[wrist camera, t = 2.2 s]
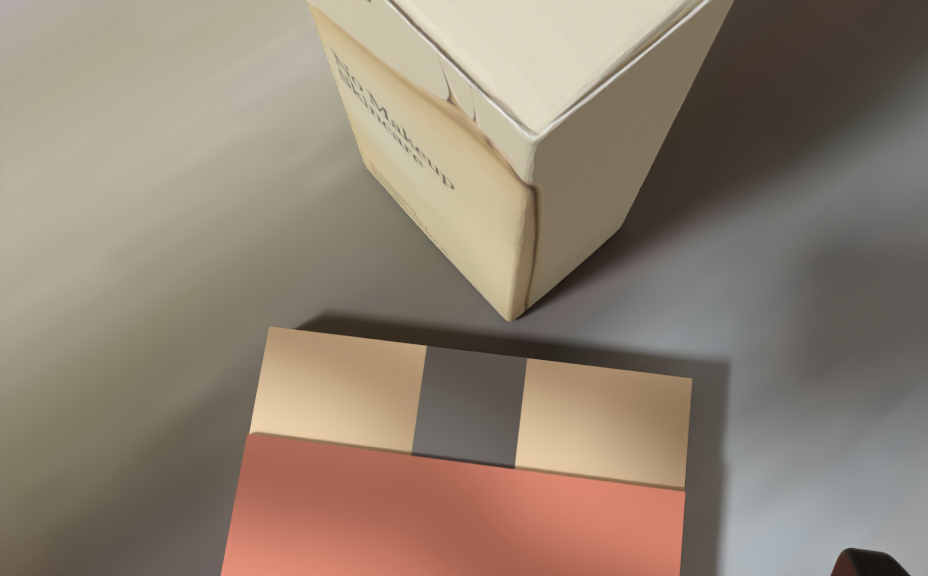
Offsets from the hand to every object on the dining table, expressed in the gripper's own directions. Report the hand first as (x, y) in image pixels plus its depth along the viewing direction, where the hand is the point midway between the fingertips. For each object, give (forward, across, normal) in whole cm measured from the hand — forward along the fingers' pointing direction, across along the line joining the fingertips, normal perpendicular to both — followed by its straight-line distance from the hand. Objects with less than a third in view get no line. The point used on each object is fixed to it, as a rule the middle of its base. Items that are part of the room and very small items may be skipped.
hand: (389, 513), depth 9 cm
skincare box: (+16, 0, +4) cm, 16 cm away
